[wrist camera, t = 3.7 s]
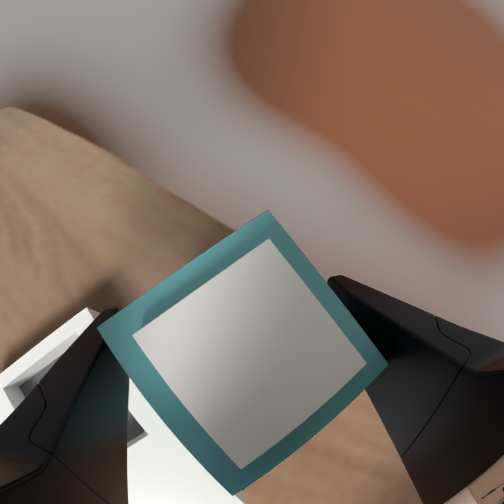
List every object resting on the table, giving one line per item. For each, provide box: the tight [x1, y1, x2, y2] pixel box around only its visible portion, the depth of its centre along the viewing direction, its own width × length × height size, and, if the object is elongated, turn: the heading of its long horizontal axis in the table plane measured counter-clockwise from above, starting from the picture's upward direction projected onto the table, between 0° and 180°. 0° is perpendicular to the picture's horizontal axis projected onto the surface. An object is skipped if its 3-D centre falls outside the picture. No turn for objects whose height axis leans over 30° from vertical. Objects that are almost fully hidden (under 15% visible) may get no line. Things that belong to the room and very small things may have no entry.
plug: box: [97, 210, 388, 496], centre depth 10 cm, size 4×4×10 cm
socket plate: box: [0, 307, 248, 504], centre depth 14 cm, size 14×10×3 cm
